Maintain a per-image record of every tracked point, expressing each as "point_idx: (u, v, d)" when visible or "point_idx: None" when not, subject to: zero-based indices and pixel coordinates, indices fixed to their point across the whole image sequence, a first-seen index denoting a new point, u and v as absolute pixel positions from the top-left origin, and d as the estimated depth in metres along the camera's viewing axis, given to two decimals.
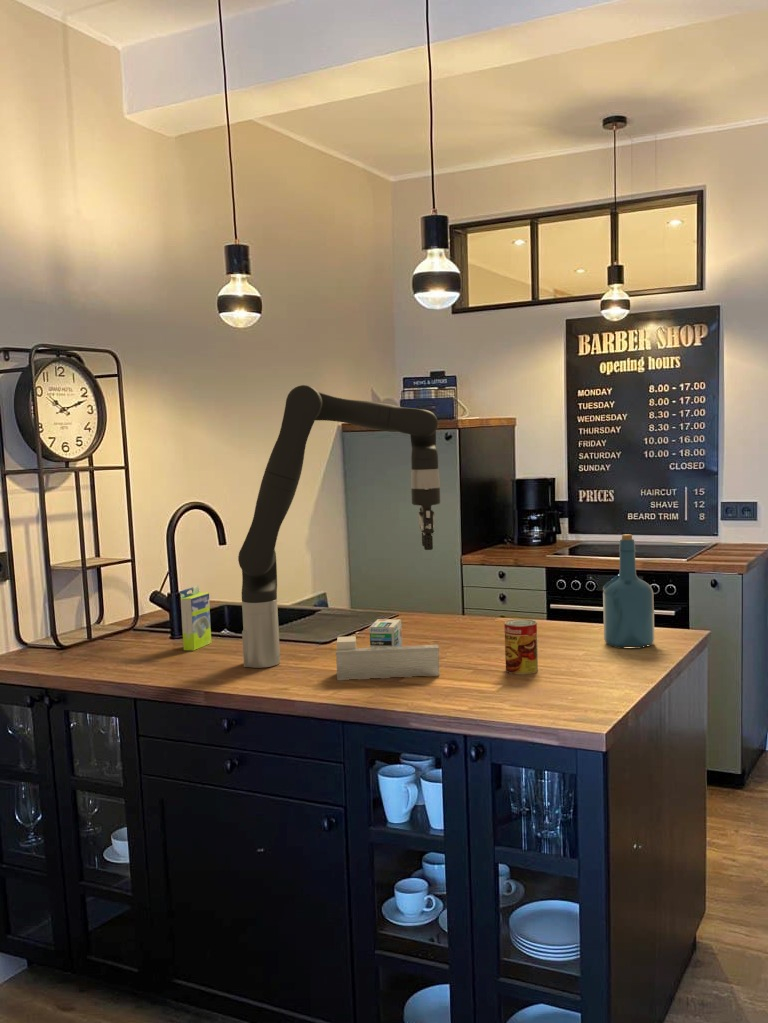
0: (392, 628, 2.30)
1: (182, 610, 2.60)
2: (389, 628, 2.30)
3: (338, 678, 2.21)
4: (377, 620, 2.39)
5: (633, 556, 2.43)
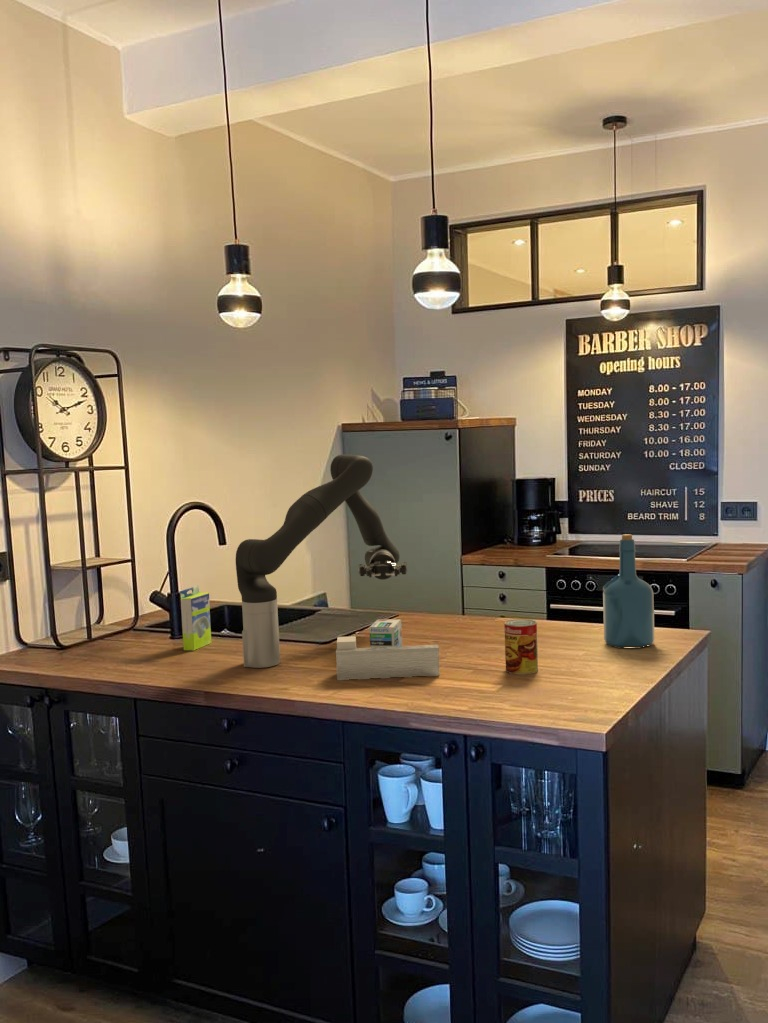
0: (392, 628, 2.30)
1: (182, 610, 2.60)
2: (389, 628, 2.30)
3: (338, 678, 2.21)
4: (377, 620, 2.39)
5: (633, 556, 2.43)
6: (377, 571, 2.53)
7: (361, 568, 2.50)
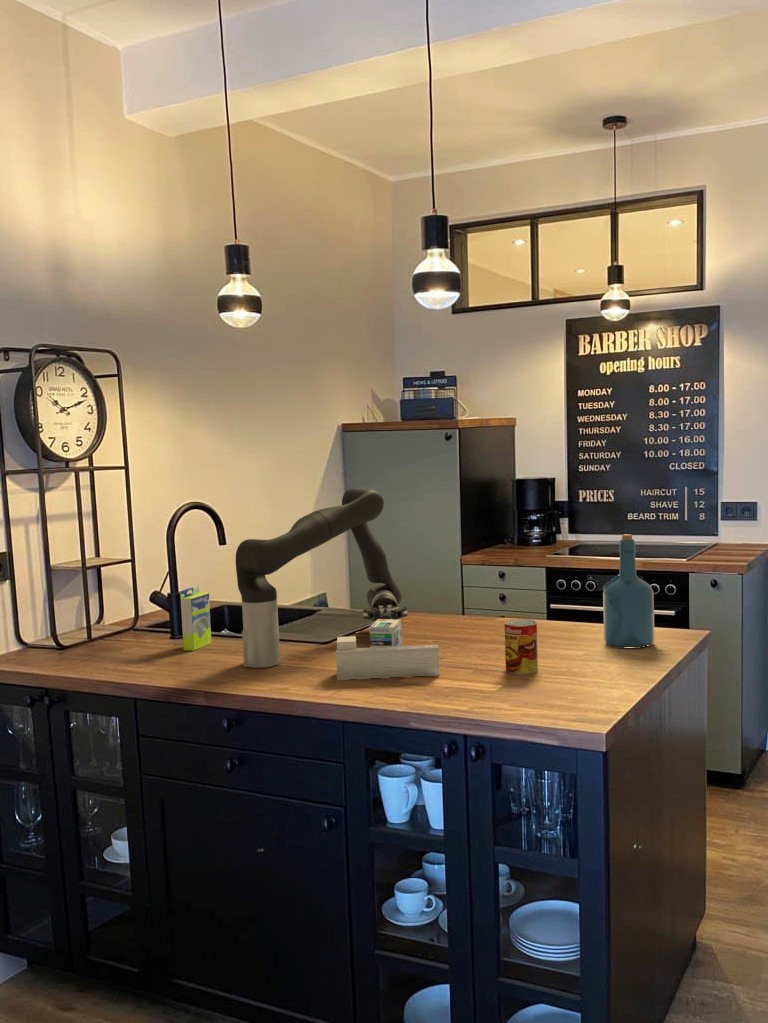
0: (392, 628, 2.30)
1: (182, 610, 2.60)
2: (389, 628, 2.30)
3: (338, 678, 2.21)
4: (377, 620, 2.39)
5: (633, 556, 2.43)
6: (385, 615, 2.53)
7: (376, 613, 2.50)
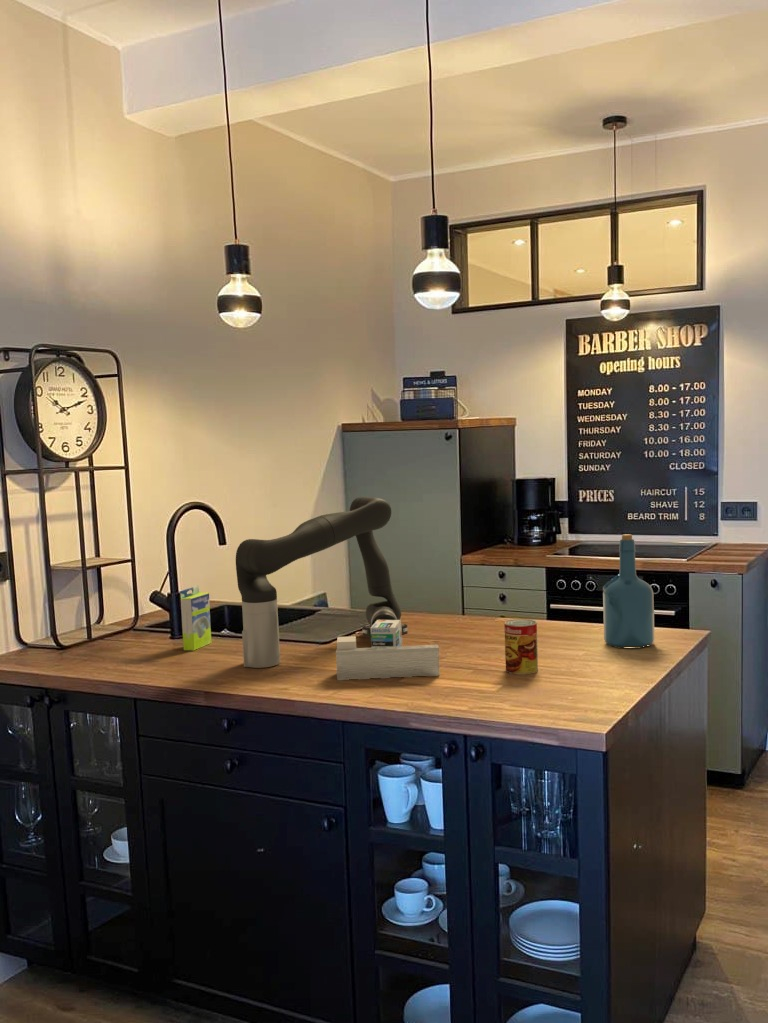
0: (393, 628, 2.29)
1: (182, 610, 2.60)
2: (390, 628, 2.29)
3: (338, 678, 2.21)
4: (377, 621, 2.38)
5: (633, 556, 2.43)
6: None
7: None
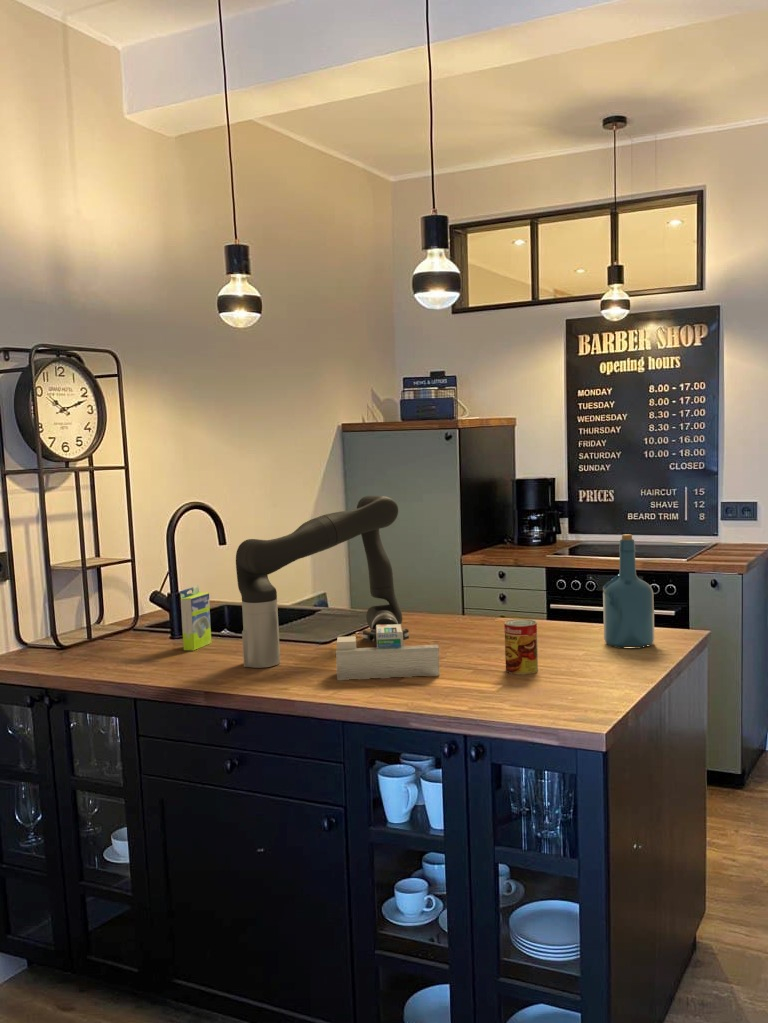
0: (401, 633, 2.23)
1: (182, 610, 2.60)
2: (398, 633, 2.23)
3: (338, 678, 2.21)
4: (377, 626, 2.32)
5: (633, 556, 2.43)
6: None
7: None
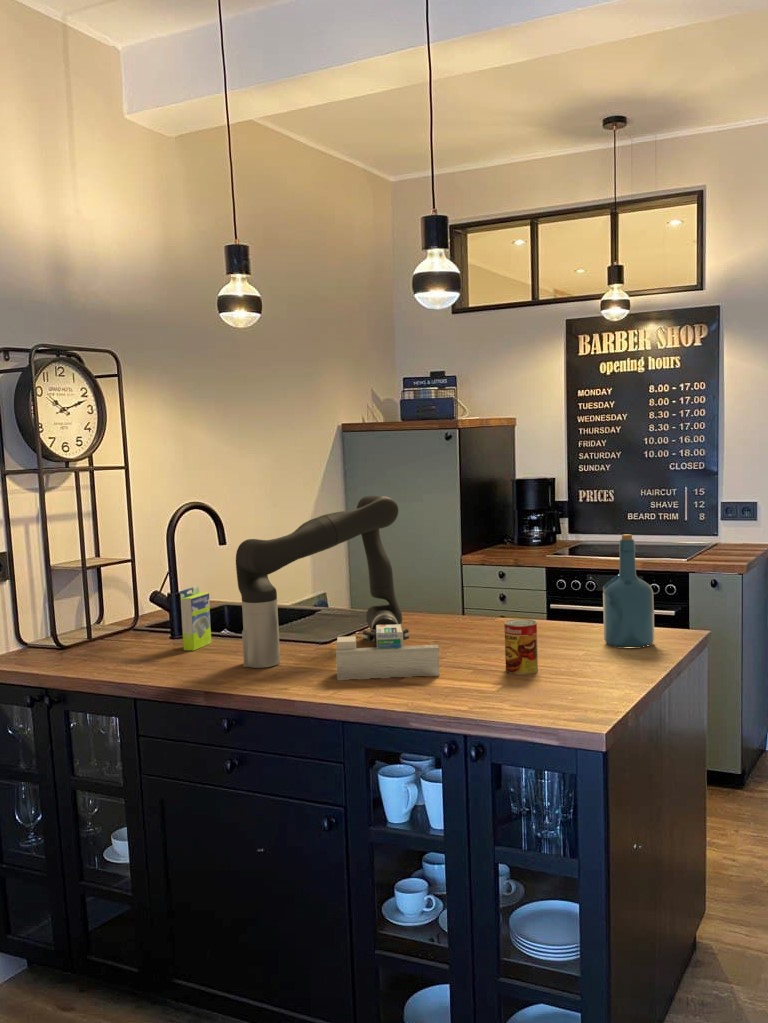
0: (401, 633, 2.23)
1: (182, 610, 2.60)
2: (398, 633, 2.23)
3: (338, 678, 2.21)
4: (377, 626, 2.31)
5: (633, 556, 2.43)
6: None
7: None
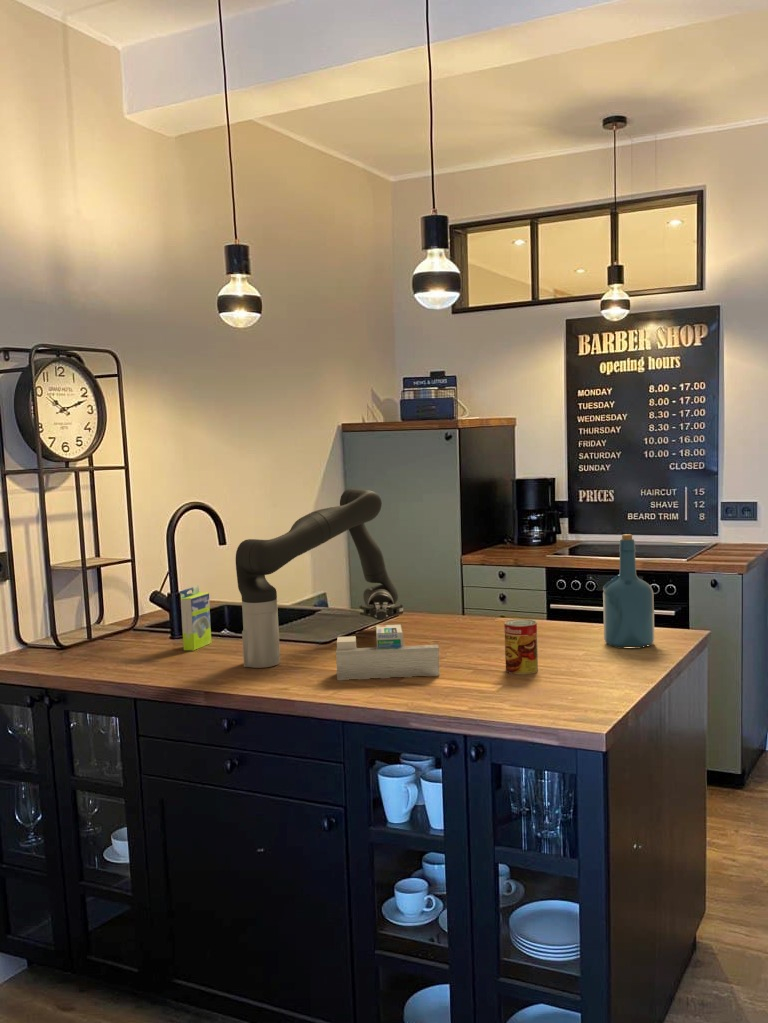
0: (401, 633, 2.23)
1: (182, 610, 2.60)
2: (398, 633, 2.23)
3: (338, 678, 2.21)
4: (377, 626, 2.31)
5: (633, 556, 2.43)
6: None
7: (372, 609, 2.51)
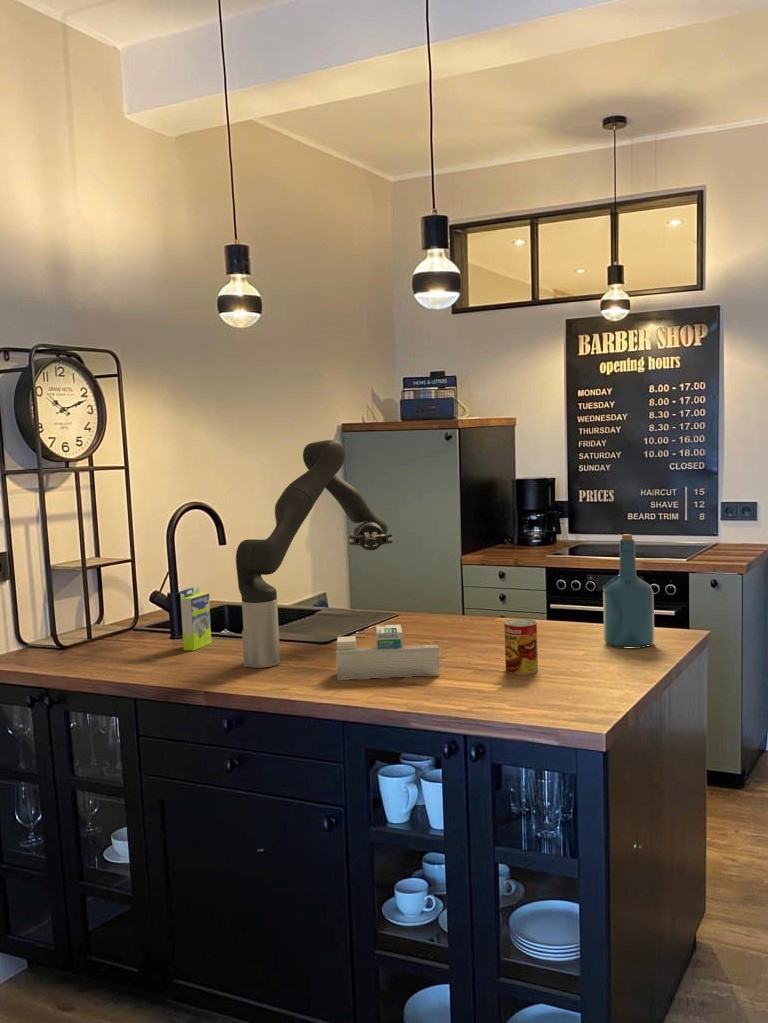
0: (401, 633, 2.23)
1: (182, 610, 2.60)
2: (398, 633, 2.23)
3: (338, 678, 2.21)
4: (377, 626, 2.31)
5: (633, 556, 2.43)
6: None
7: (361, 538, 2.54)
